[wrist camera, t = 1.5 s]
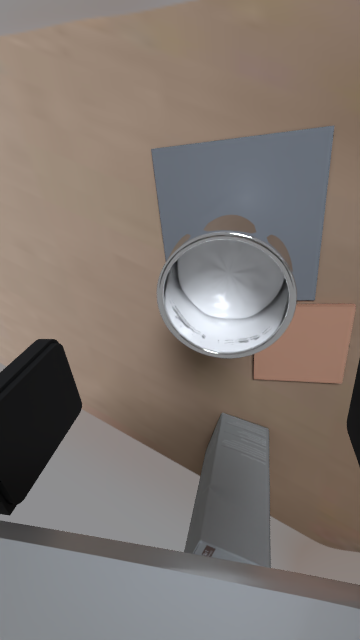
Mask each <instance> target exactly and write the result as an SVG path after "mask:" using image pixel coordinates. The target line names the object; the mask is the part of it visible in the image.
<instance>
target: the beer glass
mask: <svg viewBox="0 0 360 640" xmlns="http://www.w3.org/2000/svg"><path fill="white" fill-rule="evenodd" d="M157 303H158V308H159V311H160V314H161V316H162V319H163V321H164V323H165V324H166V326H167V327H168V329H169V330H170V331H171V333H172V334H173V335H174V336H175V337H176V338H177V339H178V340H179V341H181V342H182V343H183V344H185V345H186V346H188V347H189V348H191V349H193V350H195V351H197V352H199V353H202V354H204V355H208V356H212V357H217V358H240V357H245V356H249V355H252V354H255V353H258V352H260V351H262V350H264V349H266V348H267V347H269V346H270V345H272V344H273V343H274V342H276V341H277V340H278V339H279V338H280V337H281V336H282V335H283V333H284V332H285V331H286V329H287V328H288V326H289V325H290V323H291V321H292V318H293V316H294V313H295V309H296V303H297V289H296V284H295V275H294V265H293V260H292V256H291V252H290V249H289V246H288V244H287V242H286V239H285V237H284V235H283V234H282V232H281V230H280V229H279V228H278V226H277V225H276V224H275V223H274V222H273V217H272V214H271V212H270V210H269V208H268V207H267V205H266V204H265V203H264V202H263V201H262V200H261V199H259V198H258V197H256V196H254V195H251V194H247V193H234V194H230V195H227V196H225V197H223V198H221V199H219V200H218V201H217V202H216V203H215V204H214V205H213V206H212V207H211V209H210V210H209V212H207V213H205V214H204V215H202V216H201V217H199V218H198V219H197V220H195V221H194V222H193V223H192V224H191V225H190V226H189V227H188V228H187V229H186V230H185V231H184V233H183V234H182V235H181V237H180V238H179V240H178V241H177V243H176V244H175V246H174V248H173V250H172V252H171V254H170V256H169V258H168V260H167V261H166V263H165V264H164V266H163V268H162V270H161V273H160V276H159V279H158V284H157Z"/></svg>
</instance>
